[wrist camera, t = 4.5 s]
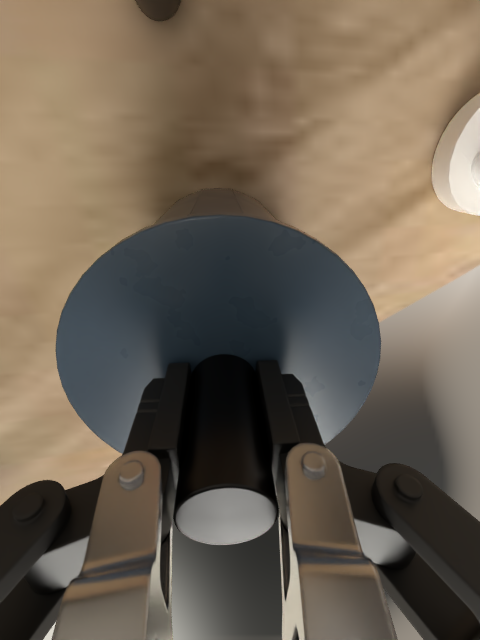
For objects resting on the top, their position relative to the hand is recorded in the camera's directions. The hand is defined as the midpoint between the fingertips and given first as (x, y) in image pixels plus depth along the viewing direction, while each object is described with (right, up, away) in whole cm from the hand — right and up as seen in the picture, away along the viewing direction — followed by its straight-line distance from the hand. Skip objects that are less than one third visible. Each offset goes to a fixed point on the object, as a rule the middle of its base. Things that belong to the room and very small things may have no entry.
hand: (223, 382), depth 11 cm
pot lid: (0, 0, +1) cm, 1 cm away
